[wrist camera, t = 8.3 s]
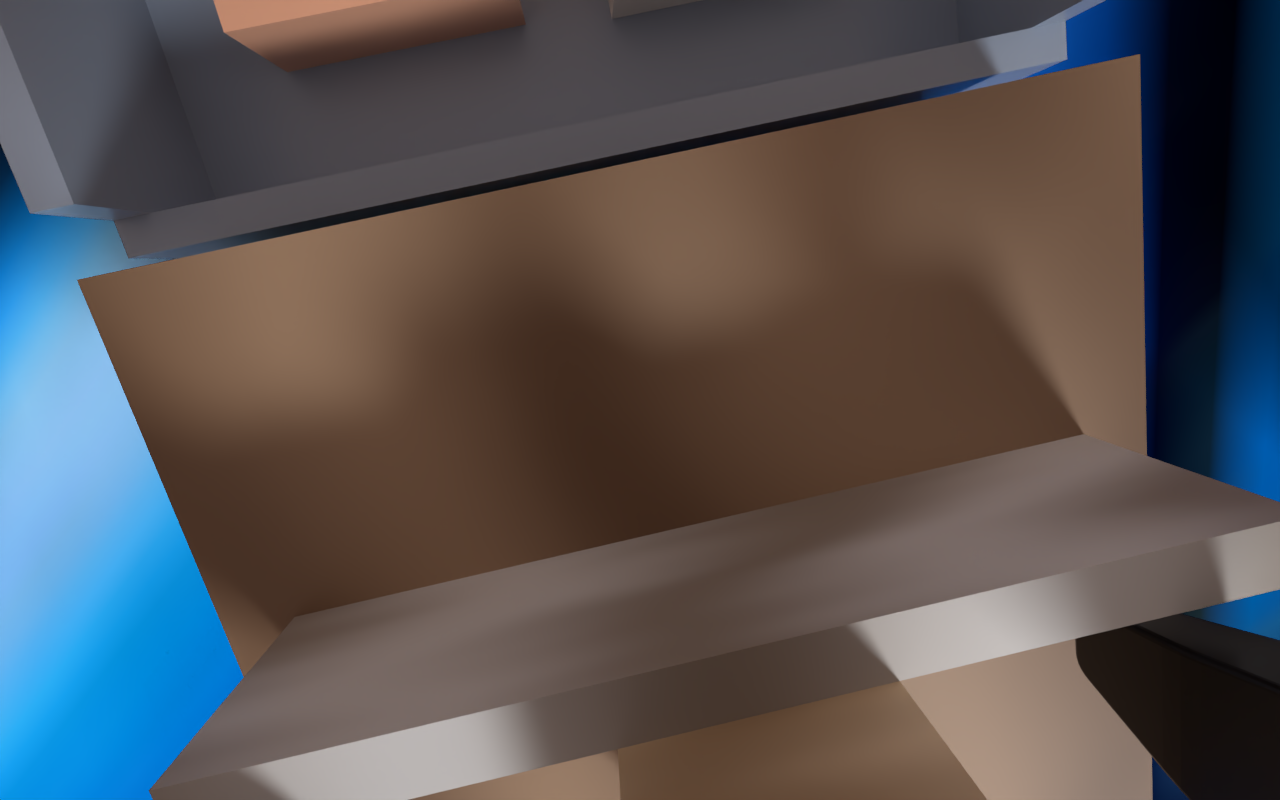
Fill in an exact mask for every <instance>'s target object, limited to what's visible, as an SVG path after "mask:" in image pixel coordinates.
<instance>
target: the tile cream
mask: <svg viewBox="0 0 1280 800" xmlns="http://www.w3.org/2000/svg"><path fill="white" fill-rule="evenodd" d="M696 1H701V0H608V2H609V7H610V12H611V17H612V19H614V18H619V17H624V16H629V15H634V14H638V13H643V12H648V11H653V10H658V9H663V8H667V7H672V6H677V5H682V4H687V3H691V2H696Z"/></svg>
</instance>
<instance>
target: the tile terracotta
mask: <svg viewBox="0 0 1280 800" xmlns="http://www.w3.org/2000/svg"><path fill="white" fill-rule="evenodd" d="M213 1H214V4H215V7H216V10H217V13H218V16H219V19H220V22H221V25H222V28H223V31H224V33H225V34H227V35H229V36H230V37H232V38H233V39H235V40H237V41H238V42H240V43H241V44H243V45H245V46H246V47H248V48H249V49H251V50H253V51H254V52H256V53H257V54H259V55H261V56H262V57H264V58H265V59H267V60H268V61H270V62H272V63H273V64H275V65H276V66H278V67H280V68H281V69H283V70H284V71H286V72H291V71H296V70H301V69H306V68H311V67H316V66H321V65H326V64H331V63H336V62H341V61H346V60H351V59H356V58H361V57H366V56H371V55H376V54H381V53H386V52H391V51H396V50H401V49H406V48H411V47H416V46H421V45H426V44H431V43H436V42H441V41H446V40H451V39H456V38H461V37H466V36H471V35H476V34H481V33H486V32H491V31H496V30H501V29H506V28H511V27H516V26H521V25H526V23H525V18H524V14H523V9H522V5H521V0H213Z"/></svg>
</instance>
